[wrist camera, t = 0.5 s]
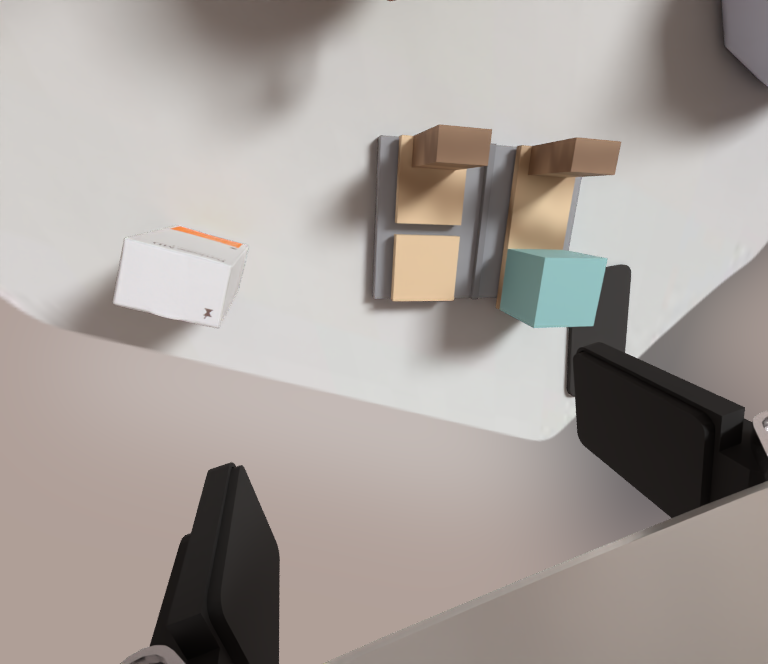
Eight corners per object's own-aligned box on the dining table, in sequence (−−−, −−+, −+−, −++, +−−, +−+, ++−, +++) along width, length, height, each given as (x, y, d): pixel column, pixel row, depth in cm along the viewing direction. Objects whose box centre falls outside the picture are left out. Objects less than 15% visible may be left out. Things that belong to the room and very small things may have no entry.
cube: (507, 248, 39) (545, 257, 33) (562, 249, 40) (607, 258, 35) (499, 309, 41) (533, 327, 35) (552, 308, 42) (593, 326, 37)
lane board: (378, 136, 35) (384, 133, 33) (579, 153, 40) (594, 151, 38) (372, 296, 40) (377, 301, 38) (554, 294, 44) (566, 299, 42)
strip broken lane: (399, 136, 34) (425, 123, 28) (465, 141, 36) (504, 130, 30) (394, 222, 37) (418, 228, 30) (457, 224, 38) (492, 230, 32)
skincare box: (250, 243, 36) (235, 266, 24) (239, 290, 37) (220, 332, 25) (174, 222, 34) (121, 235, 23) (164, 271, 35) (110, 307, 24)
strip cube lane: (517, 146, 37) (565, 136, 31) (574, 151, 38) (632, 142, 32) (495, 307, 42) (533, 327, 35) (547, 306, 43) (593, 326, 37)
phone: (632, 263, 45) (623, 385, 50) (626, 262, 46) (617, 382, 51) (572, 274, 44) (569, 398, 49) (567, 272, 44) (564, 395, 49)
